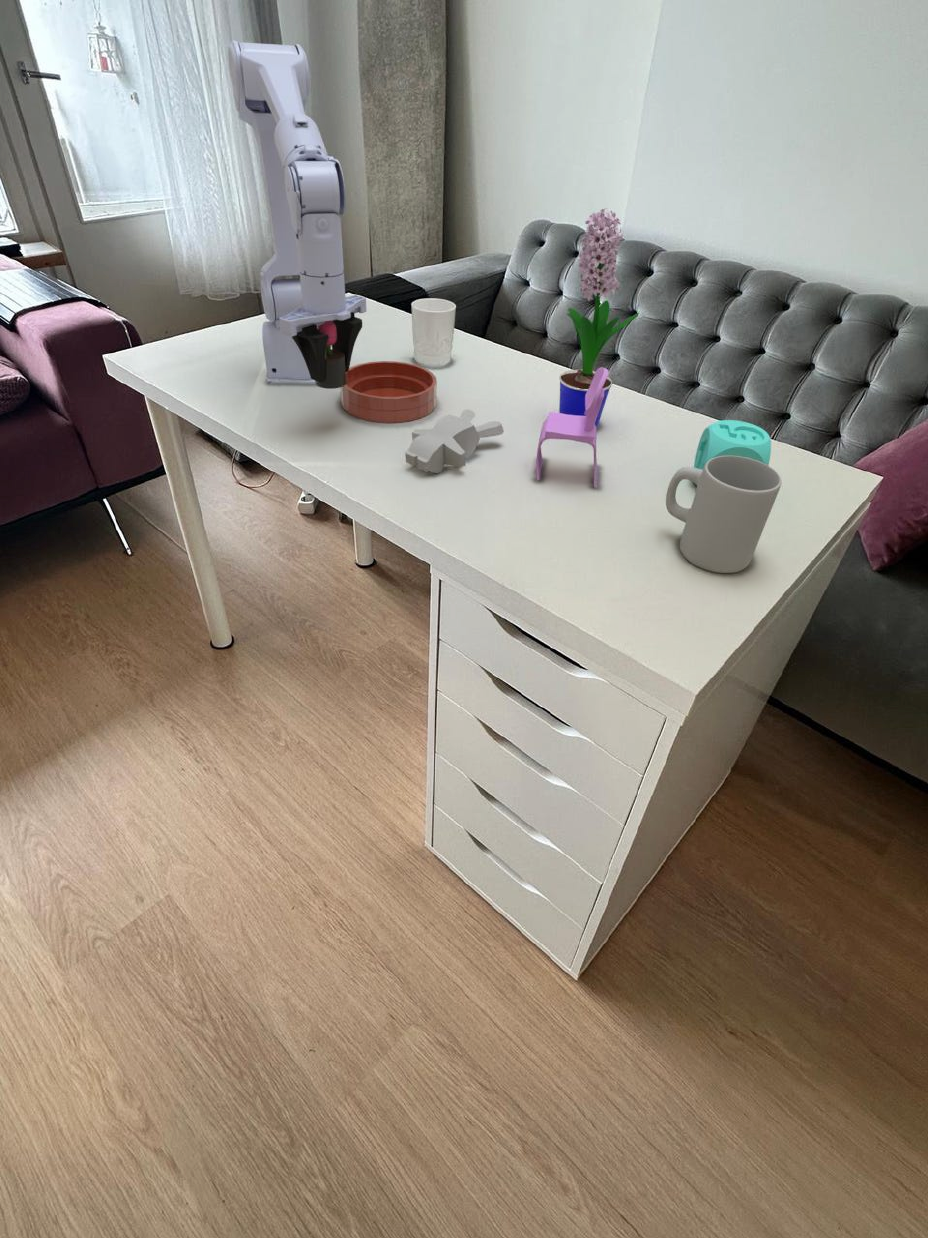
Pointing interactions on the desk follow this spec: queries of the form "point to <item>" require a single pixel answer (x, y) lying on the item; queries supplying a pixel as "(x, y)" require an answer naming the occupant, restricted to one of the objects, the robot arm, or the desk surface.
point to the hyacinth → (596, 332)
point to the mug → (724, 511)
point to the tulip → (332, 360)
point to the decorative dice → (733, 442)
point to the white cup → (433, 330)
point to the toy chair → (576, 422)
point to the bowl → (389, 391)
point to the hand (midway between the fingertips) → (329, 375)
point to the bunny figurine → (448, 442)
